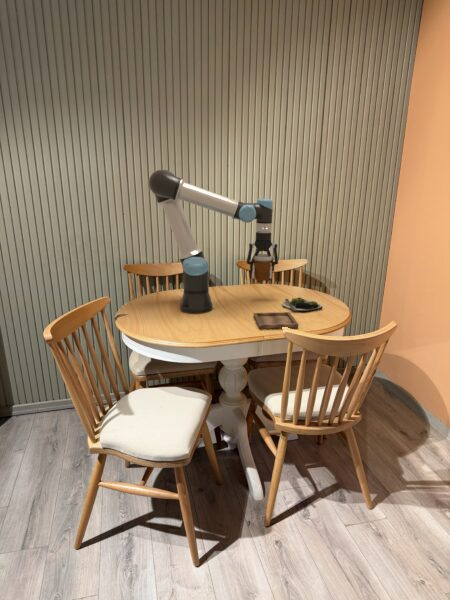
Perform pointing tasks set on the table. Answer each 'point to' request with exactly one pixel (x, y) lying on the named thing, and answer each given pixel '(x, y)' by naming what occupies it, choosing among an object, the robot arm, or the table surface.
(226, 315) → the table surface
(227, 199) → the robot arm
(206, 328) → the table surface
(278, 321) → the walnut tray
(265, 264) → the disposable coffee cup
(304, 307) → the salad plate
